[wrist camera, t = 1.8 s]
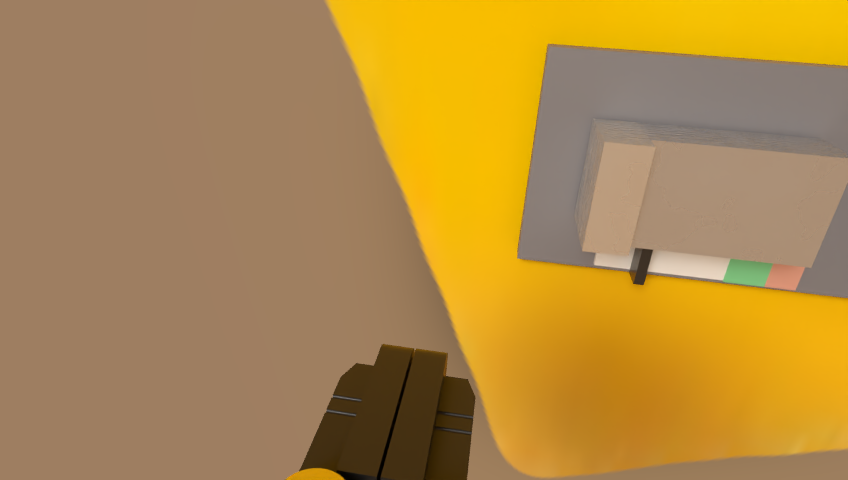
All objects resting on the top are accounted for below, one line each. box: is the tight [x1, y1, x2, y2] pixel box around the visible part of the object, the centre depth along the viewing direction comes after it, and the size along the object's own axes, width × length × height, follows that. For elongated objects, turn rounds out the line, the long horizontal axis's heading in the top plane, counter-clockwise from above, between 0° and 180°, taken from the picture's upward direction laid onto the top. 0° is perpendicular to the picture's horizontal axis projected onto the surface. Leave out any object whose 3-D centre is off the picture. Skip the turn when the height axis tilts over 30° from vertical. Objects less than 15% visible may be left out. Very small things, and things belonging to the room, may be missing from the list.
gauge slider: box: [574, 118, 848, 285], centre depth 25 cm, size 10×8×4 cm
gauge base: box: [518, 44, 848, 298], centre depth 24 cm, size 24×11×7 cm, turn 87°
